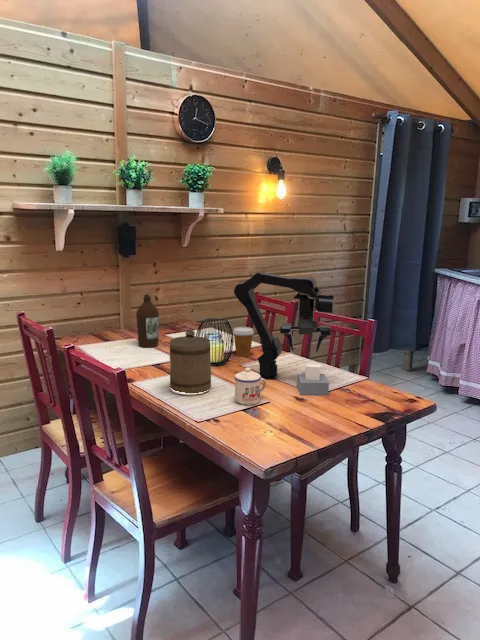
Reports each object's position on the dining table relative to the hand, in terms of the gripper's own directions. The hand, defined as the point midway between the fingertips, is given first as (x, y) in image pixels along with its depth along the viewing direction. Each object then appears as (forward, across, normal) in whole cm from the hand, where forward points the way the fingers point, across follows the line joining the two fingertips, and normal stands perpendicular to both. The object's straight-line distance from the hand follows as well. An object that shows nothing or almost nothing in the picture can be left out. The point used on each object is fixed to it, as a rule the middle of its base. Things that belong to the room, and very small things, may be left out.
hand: (304, 351), depth 189 cm
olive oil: (+13, -75, +40) cm, 86 cm away
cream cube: (+7, +3, -10) cm, 12 cm away
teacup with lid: (+12, -18, -23) cm, 31 cm away
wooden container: (+12, -41, -15) cm, 45 cm away
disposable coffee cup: (+12, -28, +32) cm, 44 cm away
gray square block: (+12, +4, -10) cm, 16 cm away
